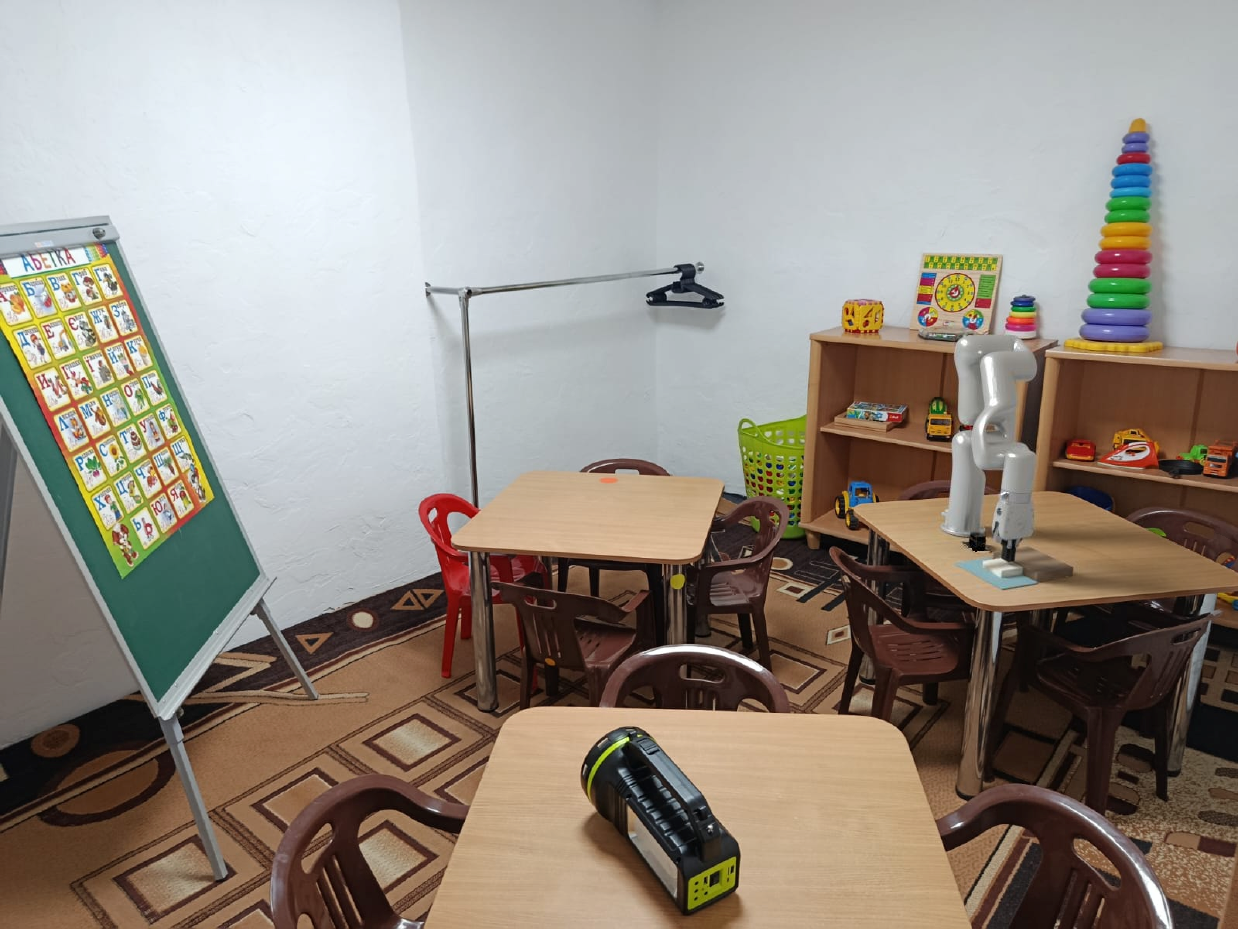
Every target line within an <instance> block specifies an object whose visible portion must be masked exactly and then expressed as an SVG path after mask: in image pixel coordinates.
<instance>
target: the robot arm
mask: <svg viewBox="0 0 1238 929" xmlns="http://www.w3.org/2000/svg"><path fill="white" fill-rule="evenodd" d="M953 359H954V364H955V368H956V374H957V377H958V392H957V393H958V395H957V397H958V399H957V400H958V402H957V403H958V404H957V416H958V417H957V418H958V420H959V422H960V423H961V425H965V426H973V427H972V430H971V429H970V430H969V429H968V430H962V431H959V432H957V433H956V434H955V435H954V436H953V437H952V439H951V440H952V441H951V455H952V456H951V457H952V458H951V460H952V467H951V468H952V469H951V470H952V471H951V481H950V490H949V501H948V508H946V509H945V510H944V511H942V512H941V516H942V517H944V518H945V519H944V520H945V521H943V522H942V523H941V525H940V528H941V530H942V531H943V532H945V533H947V534H949V535H953V536H957V537H963V538H969V535H970V533H971V532H980V533H982V534H983V535H985V533H986V528H985V527H984V525H982V524H981V522H982V513H983V505H984V504H983V503H984V496H985V488H986V475H985V472H984V471H1002V477H1001V478H1002V479H1001V486H1000V493H998V498H999V499H998V500H997V503H996V507H995V509H994V513H993V520H992V525H991V534H992V535H993V537H992V541H993V542H995V543H997V544H998V543H999V544H1000V545H1001V546H1002V547H1001V550H1002V554H1001V559H1003V560H1005V561H1007V562H1014V561H1015V553H1016V548H1019V547H1020V543H1021V542H1022V541H1023V540H1025V539H1027V538H1030V537H1031V536H1032V535H1033V532H1034V529H1035V528H1034V527H1035V504H1034V500H1033V499H1032V497H1033V490H1034V483H1035V477H1036V475H1035V474H1036V467H1037V459H1038V458H1037V454H1036V453H1035V452H1034V451H1031V450H1030V449H1029V447H1028V446H1027V444H1025V443H1023V442H1016V429H1017V426H1016V425H1017V408H1018V406H1019V397H1018V390H1017V382H1030V381H1033V379H1034V378H1035V376H1036V375H1037V371H1038V364H1037V360H1036V357H1035V354H1034V353H1033V351H1032V350H1031V349H1030V347H1029V346H1028V345H1027V344H1026V343H1025V341H1023V339H1022V338H1020V337H1019V336H1017V335H1015V334H972V335H965V336H963V337H961V338H959V339H958V341H957V342H956V343H955V347H954V354H953ZM991 426H994V429H992V430H987V427H991Z"/></svg>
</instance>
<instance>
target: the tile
mask: <svg viewBox="0 0 1238 929" xmlns="http://www.w3.org/2000/svg"><path fill="white" fill-rule="evenodd" d="M992 559H993V558H992ZM982 568H984V569H986V570H988V571H990V572H991V573H993V574H995V575H997V576H999V577H1007V576H1014V575H1020V574H1022V572H1023V567H1022V566H1020V565H1018V564H1016V563H1014V562H1007V561H1005V560H1003V559H1001V558H999V559H993V560H986V561H983V567H982Z"/></svg>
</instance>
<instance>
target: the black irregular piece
mask: <svg viewBox="0 0 1238 929" xmlns="http://www.w3.org/2000/svg"><path fill="white" fill-rule="evenodd" d="M968 541H969V542H965V541H961V542H962V543H963V544H966V545H967V546H968V547H967V548H968V549H969V548H972V550H971V551H972V552H973V551H975V552H977V551H992V550H991V549H990V548H988V547H987V536H986V535H985V534H982V533H980V532H971V533H970V535H969V537H968ZM962 543H961V544H962ZM963 544H962V545H963ZM987 548H988V549H987ZM989 549H990V550H989ZM975 552H974V553H975Z"/></svg>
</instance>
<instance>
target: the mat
mask: <svg viewBox="0 0 1238 929" xmlns="http://www.w3.org/2000/svg"><path fill="white" fill-rule="evenodd" d="M986 560H993V558H991V557H986V558H979V559H972V560H965V561H958V562H954V564H955V565H956V566H958V567H960V568H961V569H964V570H965V571H966V572H969V573H970V574H972V575H974V576H976V577H977V578H980V579H981V580H983V581H985V582H987V583H989V584H991V585H992V586H994V587H996V588H998V589H1000V590H1001V591H1003V590H1009V589H1013V588H1020V587H1028V586H1034V585H1038V584H1039V582H1036V581H1034V580H1032V579H1030V578H1028V577H1026V576H1024V575H1022V574H1020V575H1014V576H1007V577H999V576H997V575H995V574H993V573H991V572H990V571H988V570H986V569H984V568H982V567H983V561H986Z"/></svg>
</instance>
